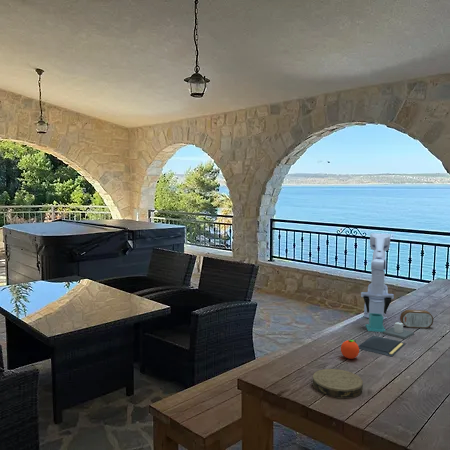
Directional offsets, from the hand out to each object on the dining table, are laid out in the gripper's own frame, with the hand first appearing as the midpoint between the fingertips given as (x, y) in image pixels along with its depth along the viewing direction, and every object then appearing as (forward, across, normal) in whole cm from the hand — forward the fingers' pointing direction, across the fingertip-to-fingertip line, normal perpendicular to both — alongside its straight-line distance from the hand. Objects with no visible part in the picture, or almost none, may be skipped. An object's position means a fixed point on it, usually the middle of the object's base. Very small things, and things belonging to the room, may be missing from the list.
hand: (376, 312), depth 201 cm
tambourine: (+9, -22, -67) cm, 72 cm away
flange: (+8, 0, 0) cm, 8 cm away
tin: (+8, +20, +8) cm, 23 cm away
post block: (+8, +9, -5) cm, 13 cm away
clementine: (+8, -16, -40) cm, 44 cm away
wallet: (+9, -1, -24) cm, 25 cm away
